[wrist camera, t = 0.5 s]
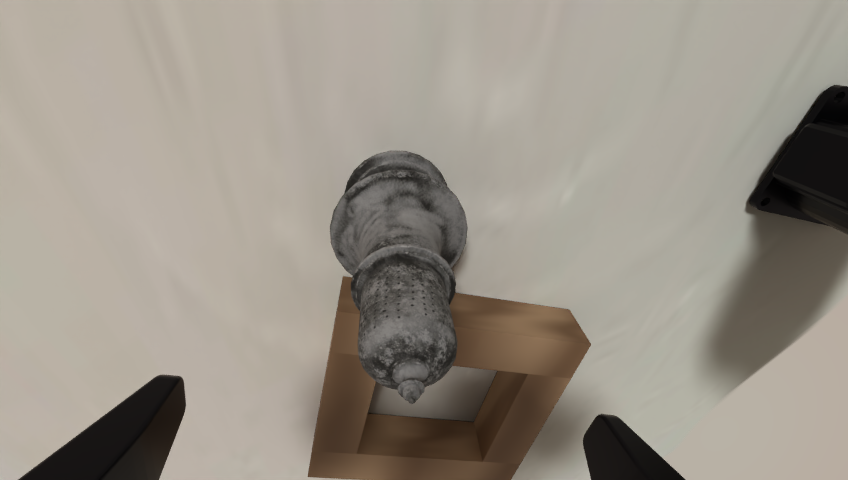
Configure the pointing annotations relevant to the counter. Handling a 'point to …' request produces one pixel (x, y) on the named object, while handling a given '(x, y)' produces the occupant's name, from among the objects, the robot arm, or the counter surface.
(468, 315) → the well block
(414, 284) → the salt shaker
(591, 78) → the counter surface
